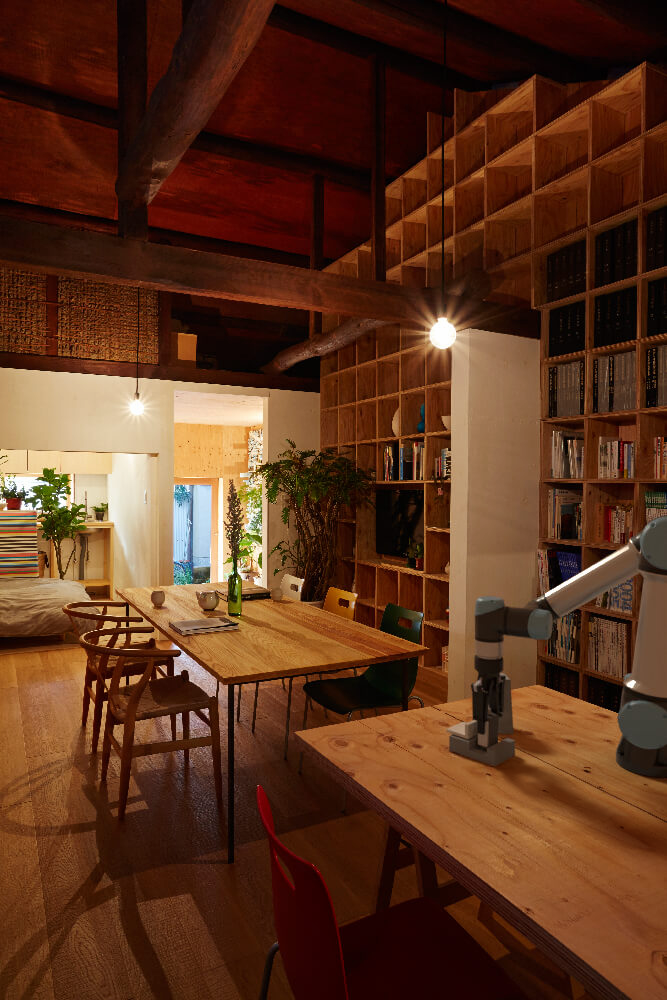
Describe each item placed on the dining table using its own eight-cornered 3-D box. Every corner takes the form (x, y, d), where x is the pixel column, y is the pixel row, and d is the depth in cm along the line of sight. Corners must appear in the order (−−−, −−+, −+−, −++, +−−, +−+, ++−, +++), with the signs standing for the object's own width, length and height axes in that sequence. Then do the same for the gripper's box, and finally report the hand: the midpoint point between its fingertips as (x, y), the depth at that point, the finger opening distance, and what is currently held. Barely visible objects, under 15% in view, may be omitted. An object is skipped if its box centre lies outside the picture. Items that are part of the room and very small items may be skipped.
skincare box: (513, 734, 185) (514, 680, 185) (489, 734, 186) (489, 680, 185) (506, 724, 194) (506, 671, 194) (482, 723, 194) (483, 671, 194)
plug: (498, 744, 171) (498, 708, 171) (489, 748, 169) (490, 712, 168) (484, 739, 174) (485, 705, 174) (476, 743, 172) (477, 708, 171)
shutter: (484, 731, 177) (484, 717, 177) (468, 739, 171) (468, 725, 171) (463, 724, 182) (463, 711, 182) (446, 732, 176) (446, 718, 176)
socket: (514, 755, 171) (515, 740, 171) (494, 766, 164) (494, 750, 164) (470, 740, 181) (470, 726, 181) (449, 750, 174) (449, 735, 174)
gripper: (493, 647, 179) (493, 730, 180) (458, 658, 168) (457, 747, 168) (518, 652, 174) (517, 738, 175) (483, 664, 162) (482, 756, 163)
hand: (488, 742), depth 171 cm, fingers closed on plug, 4 cm apart
